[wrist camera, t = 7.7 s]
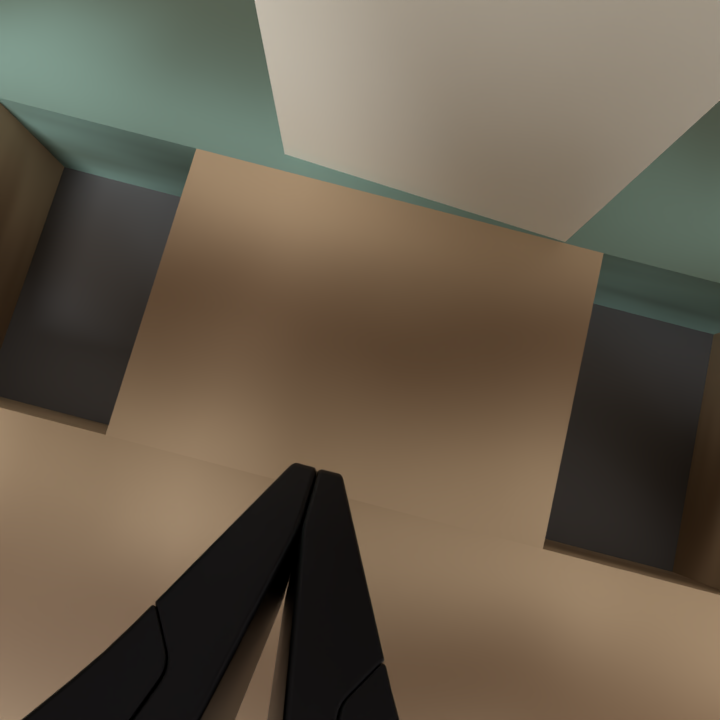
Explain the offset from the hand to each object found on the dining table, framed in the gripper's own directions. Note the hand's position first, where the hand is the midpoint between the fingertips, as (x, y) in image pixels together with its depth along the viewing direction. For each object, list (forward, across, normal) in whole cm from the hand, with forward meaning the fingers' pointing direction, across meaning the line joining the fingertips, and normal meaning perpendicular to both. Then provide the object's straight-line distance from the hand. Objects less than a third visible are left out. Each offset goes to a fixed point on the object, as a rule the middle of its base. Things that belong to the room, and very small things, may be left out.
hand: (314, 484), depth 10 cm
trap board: (+7, 0, +3) cm, 8 cm away
